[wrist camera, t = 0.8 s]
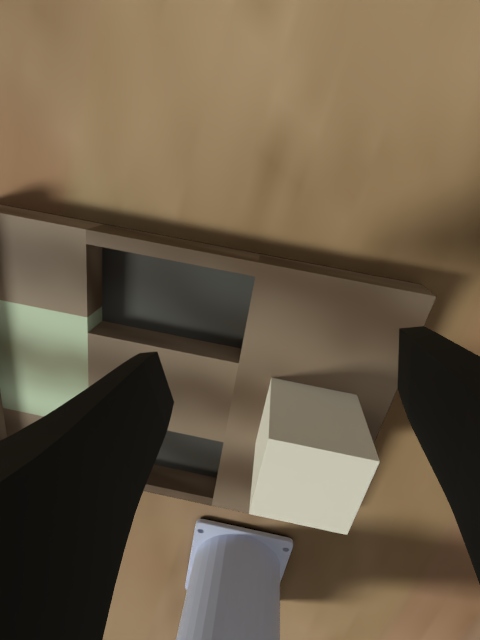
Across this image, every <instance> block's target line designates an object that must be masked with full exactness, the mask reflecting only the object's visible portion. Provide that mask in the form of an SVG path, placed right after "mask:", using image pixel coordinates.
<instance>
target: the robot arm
mask: <svg viewBox="0 0 480 640" xmlns="http://www.w3.org/2000/svg"><path fill="white" fill-rule="evenodd" d="M398 390H399V394H400V397H401V400H402V403H403V406H404V409H405V412H406V414H407V417H408V420H409V422H410V424H411V426H412V428H413V430H414V432H415V434H416V436H417V438H418V440H419V442H420V445H421V447H422V449H423V451H424V453H425V455H426V457H427V459H428V461H429V463H430V465H431V467H432V469H433V471H434V473H435V475H436V477H437V479H438V481H439V483H440V485H441V487H442V489H443V491H444V493H445V495H446V497H447V500H448V502H449V504H450V506H451V509H452V511H453V513H454V516H455V519H456V521H457V524H458V526H459V529H460V532H461V534H462V537H463V540H464V542H465V545H466V548H467V550H468V553H469V556H470V558H471V561H472V564H473V567H474V570H475V572H476V575H477V578H478V581H479V583H480V356H478V355H476V354H474V353H472V352H470V351H468V350H467V349H465V348H463V347H461V346H459V345H457V344H456V343H454V342H452V341H450V340H448V339H447V338H445V337H443V336H441V335H439V334H438V333H436V332H434V331H432V330H430V329H428V328H426V327H424V326H419V327H409V328H399V354H398ZM173 405H174V400H173V397H172V394H171V391H170V388H169V385H168V382H167V379H166V376H165V373H164V370H163V367H162V364H161V361H160V358H159V355H158V352H146V353H139V354H137V355H135V356H133V357H132V358H130V359H129V360H127V361H125V362H124V363H122V364H121V365H120V366H118V367H117V368H115V369H114V370H112V371H111V372H110V373H108V374H107V375H105V376H104V377H102V378H101V379H100V380H98V381H97V382H95V383H94V384H93V385H91V386H90V387H88V388H87V389H85V390H84V391H82V392H81V393H79V394H78V395H76V396H75V397H73V398H72V399H70V400H69V401H67V402H66V403H64V404H63V405H61V406H60V407H58V408H57V409H55V410H54V411H52V412H50V413H49V414H47V415H46V416H44V417H42V418H41V419H39V420H37V421H35V422H34V423H32V424H30V425H28V426H27V427H25V428H23V429H21V430H19V431H18V432H16V433H14V434H12V435H10V436H8V437H7V438H4V439H2V440H0V640H102V639H103V634H104V630H105V626H106V621H107V617H108V613H109V608H110V604H111V600H112V596H113V591H114V587H115V583H116V579H117V576H118V572H119V568H120V564H121V561H122V557H123V553H124V549H125V546H126V542H127V539H128V535H129V532H130V528H131V525H132V522H133V518H134V515H135V512H136V509H137V506H138V503H139V501H140V498H141V495H142V493H143V490H144V488H145V485H146V483H147V480H148V478H149V475H150V473H151V470H152V468H153V466H154V463H155V461H156V458H157V456H158V453H159V451H160V448H161V446H162V443H163V441H164V438H165V435H166V433H167V430H168V426H169V422H170V418H171V414H172V410H173ZM292 548H293V540H292V539H291V538H289V537H284V536H280V535H275V534H270V533H266V532H261V531H257V530H252V529H247V528H243V527H238V526H234V525H229V524H224V523H220V522H215V521H211V520H206V519H198V520H197V521H196V525H195V531H194V537H193V543H192V549H191V555H190V561H189V566H188V572H187V578H186V584H185V589H186V590H187V593H186V598H185V602H184V607H183V611H182V616H181V620H180V625H179V629H178V634H177V638H176V640H280V582H281V579H282V576H283V573H284V571H285V568H286V565H287V562H288V559H289V557H290V554H291V551H292Z"/></svg>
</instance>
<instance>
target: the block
mask: <svg viewBox="0 0 480 640" xmlns="http://www.w3.org/2000/svg"><path fill="white" fill-rule="evenodd" d="M379 462H380V461H379V458H378V455H377V452H376V449H375V446H374V443H373V440H372V437H371V434H370V432H369V429H368V426H367V423H366V420H365V417H364V414H363V411H362V408H361V405H360V402H359V399H358V397H357V395H355V394H350V393H345V392H340V391H335V390H330V389H325V388H320V387H316V386H311V385H306V384H301V383H296V382H291V381H286V380H281V379H276V378H271V381H270V385H269V389H268V393H267V397H266V401H265V406H264V410H263V414H262V418H261V422H260V426H259V430H258V435H257V439H256V443H255V454H254V465H253V475H252V486H251V497H250V508H249V514H252V515H257V516H261V517H266V518H271V519H275V520H280V521H285V522H289V523H294V524H298V525H303V526H308V527H312V528H317V529H322V530H326V531H331V532H336V533H340V534H345V535H347V534H348V532H349V530H350V527H351V525H352V523H353V521H354V518H355V516H356V514H357V512H358V509H359V507H360V505H361V503H362V500H363V498H364V496H365V494H366V491H367V489H368V487H369V485H370V483H371V480H372V478H373V476H374V474H375V471H376V469H377V467H378V465H379Z"/></svg>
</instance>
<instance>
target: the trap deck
mask: <svg viewBox="0 0 480 640" xmlns="http://www.w3.org/2000/svg"><path fill="white" fill-rule="evenodd" d="M435 299H436V296H435V295H434V294H433V293H431V292H430V291H429V290H428V289H426V288H425V287H424V286H423V285H421V284H416V283H411V282H405V281H400V280H395V279H390V278H384V277H379V276H374V275H369V274H363V273H358V272H353V271H348V270H342V269H337V268H332V267H327V266H321V265H316V264H311V263H306V262H300V261H295V260H290V259H285V258H279V257H274V256H269V255H264V254H258V253H253V252H248V251H242V250H237V249H232V248H227V247H221V246H216V245H211V244H206V243H200V242H195V241H190V240H185V239H179V238H174V237H169V236H164V235H158V234H153V233H148V232H143V231H137V230H132V229H127V228H122V227H116V226H111V225H106V224H101V223H95V222H90V221H85V220H80V219H74V218H69V217H64V216H59V215H53V214H48V213H43V212H38V211H32V210H27V209H22V208H17V207H11V206H6V205H1V204H0V440H2V439H4V438H7V437H8V436H10V435H12V434H14V433H16V432H18V431H19V430H21V429H23V428H25V427H27V426H28V425H30V424H32V423H34V422H35V421H37V420H39V419H41V418H42V417H44V416H46V415H47V414H49V413H50V412H52V411H54V410H55V409H57V408H58V407H60V406H61V405H63V404H64V403H66V402H67V401H69V400H70V399H72V398H73V397H75V396H76V395H78V394H79V393H81V392H82V391H84V390H85V389H87V388H88V387H90V386H91V385H93V384H94V383H95V382H97V381H98V380H100V379H101V378H102V377H104V376H105V375H107V374H108V373H110V372H111V371H112V370H114V369H115V368H117V367H118V366H120V365H121V364H122V363H124V362H125V361H127V360H129V359H130V358H132V357H133V356H135V355H137V354H139V353H146V352H158V355H159V358H160V361H161V364H162V367H163V370H164V373H165V376H166V379H167V382H168V385H169V388H170V391H171V394H172V397H173V400H174V405H173V410H172V414H171V418H170V422H169V426H168V430H167V433H166V435H165V438H164V441H163V443H162V446H161V448H160V451H159V453H158V456H157V458H156V461H155V463H154V466H153V468H152V470H151V473H150V475H149V478H148V480H147V483H146V485H145V488H144V490H143V491H146V492H150V493H155V494H160V495H164V496H169V497H173V498H178V499H183V500H187V501H192V502H197V503H201V504H206V505H210V506H215V507H220V508H224V509H229V510H234V511H238V512H243V513H248V514H249V508H250V497H251V486H252V475H253V465H254V454H255V443H256V439H257V435H258V430H259V426H260V422H261V418H262V414H263V410H264V406H265V401H266V397H267V393H268V389H269V385H270V381H271V378H276V379H281V380H286V381H291V382H296V383H301V384H306V385H311V386H316V387H320V388H325V389H330V390H335V391H340V392H345V393H350V394H355V395H357V397H358V399H359V402H360V405H361V408H362V411H363V414H364V417H365V420H366V423H367V426H368V429H369V432H370V434H371V437H372V440H373V443H374V442H375V440H376V437H377V435H378V433H379V430H380V428H381V426H382V423H383V421H384V419H385V416H386V414H387V411H388V409H389V407H390V404H391V402H392V400H393V397H394V395H395V393H396V390H397V388H398V354H399V328H409V327H419V326H424V324H425V322H426V320H427V317H428V315H429V313H430V310H431V308H432V306H433V303H434V301H435Z"/></svg>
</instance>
